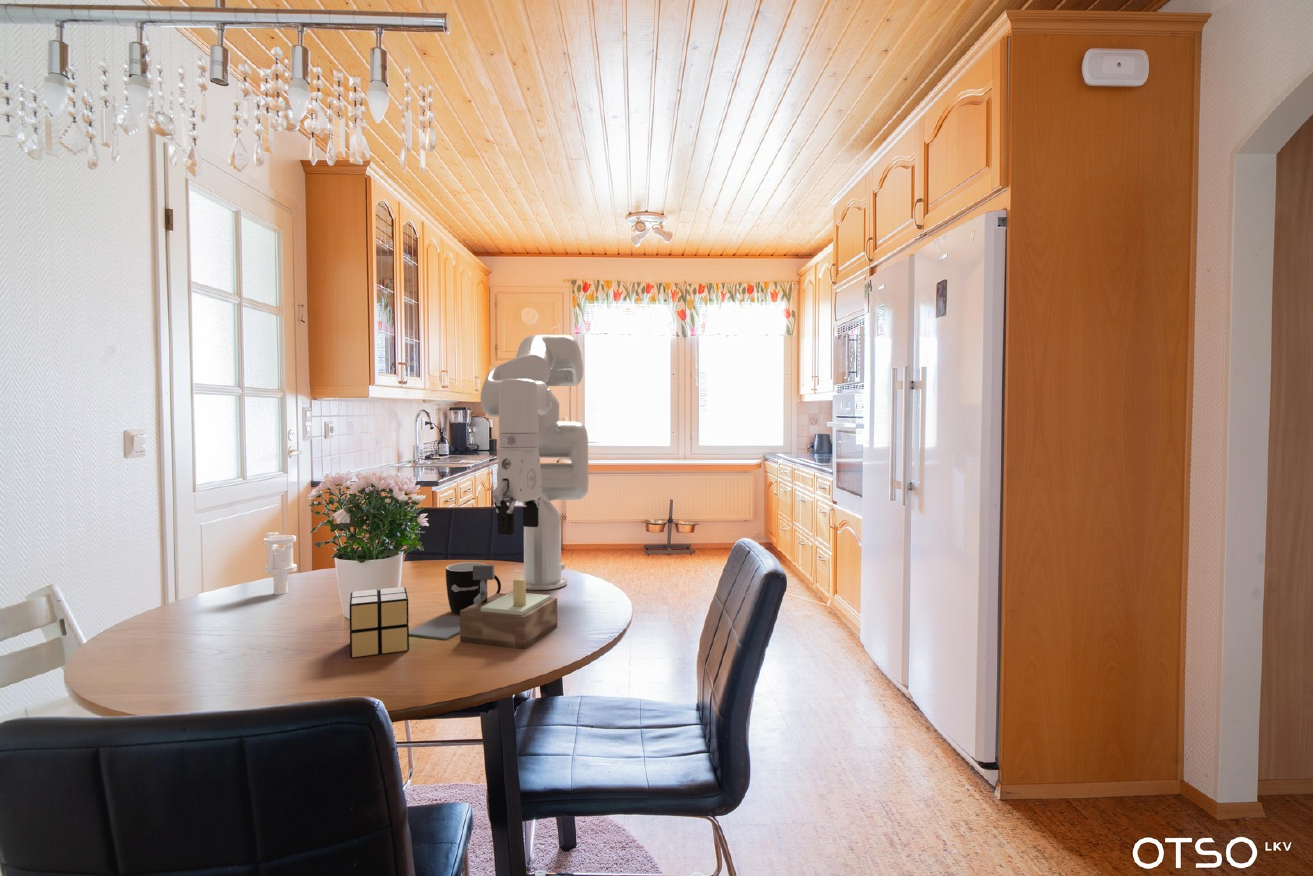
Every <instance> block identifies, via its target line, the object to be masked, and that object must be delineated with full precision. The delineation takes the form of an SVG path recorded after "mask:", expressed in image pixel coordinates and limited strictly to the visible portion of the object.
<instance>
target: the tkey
mask: <svg viewBox="0 0 1313 876" xmlns="http://www.w3.org/2000/svg"><path fill="white" fill-rule="evenodd" d="M494 575H495V564H486V565H474V566H473V580H480V594H479V595H478V596H477V597H476V598H475V599H474V603H482V602H487V598H488V597H489V596H488V593H489V592H488V581H492V580H495V579H494Z"/></svg>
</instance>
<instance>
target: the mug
mask: <svg viewBox="0 0 1313 876" xmlns="http://www.w3.org/2000/svg"><path fill="white" fill-rule="evenodd" d="M474 565H487V564H486V563H482V562H474V561H472V562H471V561H470V562H467V561H466V562H458V563H457V562H456V563H453V564H450V565H447V566H446V567H445V582H446V583H445V585H446V593H447V599H448V605H449V608H450V610H451V612H452V613H453V614H455V615H459V616H460V611H461V610H463V609H465V608H467V607H469V606H471V605H473V604H475V603H474V599H475V598H476V597H477V596H478V595H479V594H480V580H473V566H474ZM493 580H495V582H496V585H497V591H496V592H495V594H496V593H501V590H502V584H501V580H500V579H499V577H498V576H497V575H495V574H494V579H493Z"/></svg>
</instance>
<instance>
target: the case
mask: <svg viewBox="0 0 1313 876" xmlns="http://www.w3.org/2000/svg"><path fill="white" fill-rule="evenodd" d="M506 594H507V593H501V592H500V593H496V592H495V594H492V595H490V596H487V602H482V603H475V604H473V605H471V606H469V607H467V608H465V609H463V610H461V611H460V615H459V617H460V633H459V642H461V643H471V644H477V645H478V644H479V645H488V646H496V647H497V646H498V647H503V648H513V649H514V648H515V649H523V650H525V649H527V648H528V647H530V646H531V645H532V644H534V643H536V642H537V641H538V640H540V639H542V638H543V637H544V636H546V635H548V634H549V633H550V632H552V631H553V630H555V629H556V628H558V598H556V597H551V599H550V600H548V601H546V602H545V603H543V604H541V605H539V606H538V607H536V608H534V609H533V610H531V611H529V612H527V613H526V614H524V615H513V614H503V613H493V612H483V611H481V607H482V606H484V605H486V604H488V603H490V602H492V601H494V600H496V599H498V598H500V597H502V596H504V595H506Z"/></svg>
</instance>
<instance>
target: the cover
mask: <svg viewBox="0 0 1313 876" xmlns="http://www.w3.org/2000/svg"><path fill="white" fill-rule="evenodd" d="M523 578H524V577H521V578H513V581H512V583H513V584H512V587H513V588H512V589H513V591H510V592H508V593H505V594H506V595H504V596H502V597H500V598H498V599H496V600H494V601H492V602H490V603H488V604H486V605H484V606H482V607H481V611H483V612H493V613H503V614H513V615H524V614H526V613H527V612H529V611H531V610H533V609H534V608H536V607H538V606H539V605H541V604H543V603H545V602H546V601H548V600H550V599H551V598H552V597H551V595H550V594H540V593H530V592H529V593H528V592H527V589H526V579H523Z"/></svg>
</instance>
